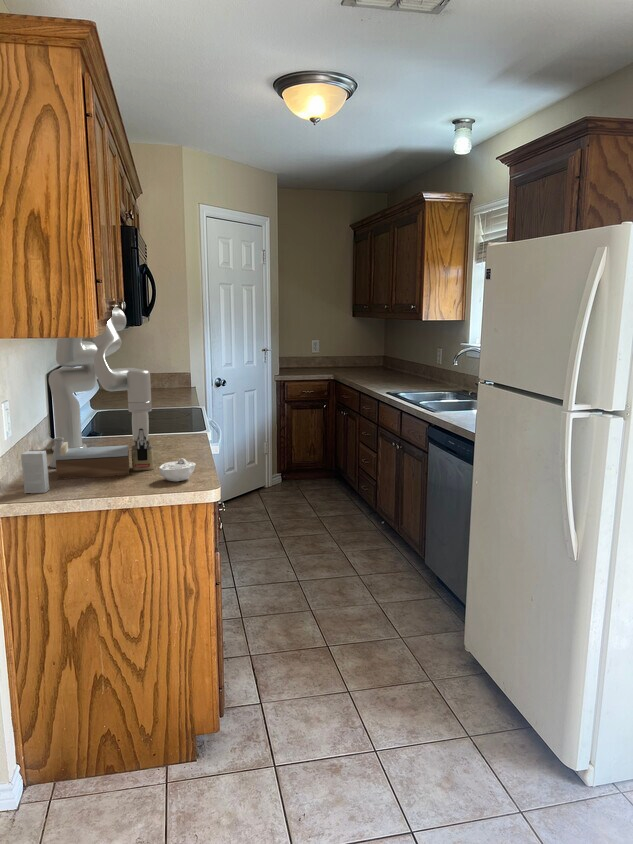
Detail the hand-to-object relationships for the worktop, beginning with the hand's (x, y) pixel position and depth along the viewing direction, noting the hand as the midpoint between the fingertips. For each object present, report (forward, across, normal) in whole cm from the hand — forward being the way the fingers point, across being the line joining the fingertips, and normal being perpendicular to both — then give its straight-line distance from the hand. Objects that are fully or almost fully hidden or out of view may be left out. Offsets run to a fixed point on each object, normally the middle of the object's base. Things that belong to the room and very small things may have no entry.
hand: (142, 457), depth 210 cm
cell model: (+4, +18, +10) cm, 21 cm away
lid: (-2, 0, -15) cm, 16 cm away
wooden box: (+4, 0, -16) cm, 16 cm away
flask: (+4, -12, -28) cm, 31 cm away
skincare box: (+4, +20, -30) cm, 37 cm away
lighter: (+4, 0, 0) cm, 4 cm away
